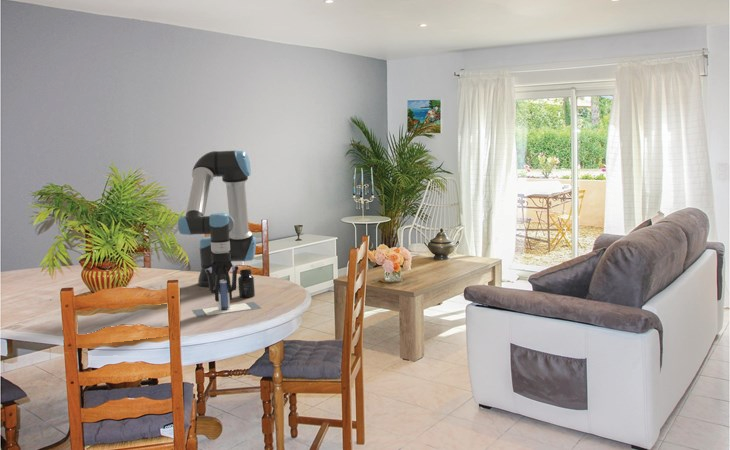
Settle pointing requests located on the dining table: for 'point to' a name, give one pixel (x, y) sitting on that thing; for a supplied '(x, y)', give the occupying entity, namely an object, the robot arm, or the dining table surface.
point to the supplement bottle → (246, 284)
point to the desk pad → (202, 314)
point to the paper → (232, 309)
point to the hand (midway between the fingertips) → (224, 308)
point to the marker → (223, 294)
